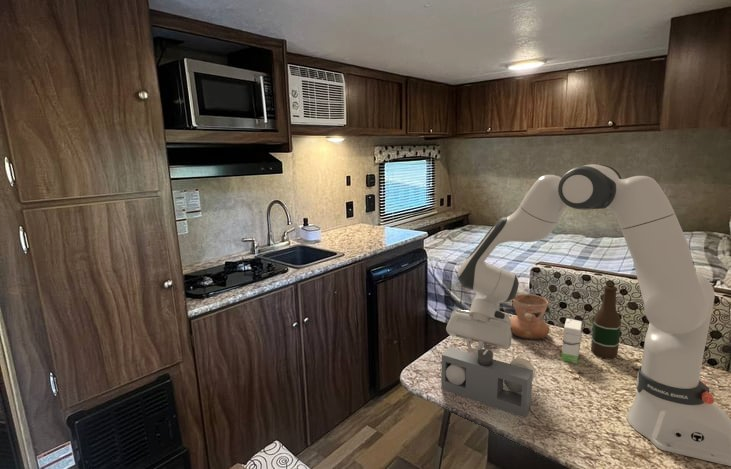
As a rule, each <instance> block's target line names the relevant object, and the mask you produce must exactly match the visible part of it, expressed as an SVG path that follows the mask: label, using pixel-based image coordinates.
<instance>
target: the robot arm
mask: <svg viewBox="0 0 731 469" xmlns="http://www.w3.org/2000/svg"><path fill="white" fill-rule="evenodd" d="M569 207H570V208H572V209H575V210H582V211H583V210H584V211H587V210H604V209H609V210H610V211H611V212H612V213H613V215H614V217H615V219H616V221H617V223H618V225H619V229H620V231H621V233H622V236H623V238H624V240H625V243H626V245H627V248H628V250H629V253H630V256H631V258H632V260H633V261H632V262H633V264H634V268H635V269H634V270H635V273H636V274H635V275H636V278H637V282H638V287H639V290H640V293H641V297H642V301H643V305H644V306H643V308H644V314H645V317H646V319H647V321H648V322H649V324H648V328H647V331H646V334H645V338H644V344H643V352H642V358H641V359H642V360H641V365H640V366H639V368H638V371H637V375H636V376H637V378H636V383H635V384H636V393H635V396H634V400H633V403H632V405H631V407H630V409H629V410H628V412H627V414H626V419H627V422H628V423H629V425H630V426H631V427H632V428H633V429H635V431H637V433H639V434H641V435H643V436H644V437H645V438H646V439H648V440H650V441H651V443H652V444H653V445H654V446H656V448H658V449H659V450H662V451H665V452H669V453H673V454H678V455H681V456H686V457H690V458H693V459H694V458H695V459H698V460H699V459H700V460H703V461H707V462H712V463H715V464H720V465H724V466H728V467H731V418H730V416H729V415H728V414H727V413H726V412H725V411H724V410H723V409H722V408H720V407H719V406H717V405H716V404H715V403H714V402H715V399H714V395H713V394H712V393H711V392H710V388H709V386H708V385H707V383H706V382H705V380H703V381H701V380H700V379H701V378H700V377H701V371H702V365H703V359H704V354H705V348H706V343H707V340H708V334H709V329H710V324H711V317H712V313H713V308H714V303H715V296H716V295H715V289H714V288H713V287H714V286H713V285H712V283H711V282H710V281H709V280H708V278H707V277H706V276H704V275H703V274H702V273H698V272H697V271H696V269H695V265H694V262H693V257H692V254H691V248H690V245H689V243H688V240H687V238H686V236H685V233H684V232H683V228H682V226H681V225H680V222H679V219H678V217H677V215H676V212H675V210H674V208H673V205H672V204H671V202H670V200H669V199H668V197H667V195H666V194H665V192H664V191H663V189H662V188H661V186H660V184H658V182H657V181H656V180H655V178H653V177H651V176H647V175H635V176H630V177H628V178H622V176H621V175H620V173H619V172H618V171H617V170H616V169H615V168H613V167H611V166H609V165H606V164H605V165H604V164H593V163H592V164H590V163H589V164H585V165H581V166H580V165H579V166H575V167H574V168H571V169H570V170H568V171H567V172H566V173H564V175H562V177H561V176H559V175H555V174H545V175H542V176H540V177H539V178H538V179H537V180H535V182H534V183H533V184H532V185H531V187H530V189H528V191H527V193H526V194H525V196H524V198H523V199H522V201H521V203H520V204H519V206H518V208H516V210H515V211H514V212H513V213H511V214H510V215H508V216H506V217H505V216H504V217H501V218H499V219H498V220H497V221H496V222H495V224H493V225H492V226H491V228H490V229H489V230H488V232H487V233H486V234H485V235H484V236H483V238H482V239H481V240H480V242H479V243H478V245H477V246H476V247H475V249H474V250H473V251H472V253H470V255H469V256H468V257H467V258H466V259H465V260H464V261H463V262H462V264H461V265H460V266H459V269H458V273H457V276H456V277H457V280H458V282H459V283H460V285H461V287H462V288H465V289H467V290H471V291H474V292H475V296H474V297H473V300H472V302H471V306H470V309H469V310H467V309H466V310H465V309H464V310H463V309H460V308H456V309H454V310H452V311H451V313H450V318H449V320H448V322H447V323H446V324H447V325H446V327H445V329H446V330H445V331H446V332H447V334H448V335H449V336H452V337H456V338H460V339H464V340H466V344H467V350H466V352H469V353H473V354H476V355H478V351H479V350H480V349H484V346H485V345H487V346H492V347H494V348H499V349H503V350H506V351H507V350H509V349H510V348H511V344H512V338H513V337H512V336H513V333H512V332H511V329H510V328H511V325H512V323H511V318H510V316H509V315H508V314H507V313H505V312H503V311H501V310H500V305H501V303H503V304H504V303H507V302H510V301H513V299H514V298H515V296H516V295H517V292H518V290H519V286H520V281H519V279H518V276H517V275H516V274H515V273H514V272H511V271H509V270H506V269H504V268H501V267H498V266H496V265H493V264H490V263H488V262H487V261H486V260H487V259H488V258H489V256H490V255H491V254H492V252H494V251H493V250H495V249H496V247H497V246H498V245H500V244H501V245H502V244H503V243H510V242H517V243H518V242H522V243H534V242H539V241H541V240H544V239H545V238H547V237H548V236H549V235H550V234H551V233H552V232H553V230H554V229H555V228H556V226H557V225H558V223H559V221H560V219H561V217H562V216H563V214H564V212H566V210H568V208H569ZM485 261H486V262H485ZM473 342H475V343H477V346H476V347H475V348H474V347H472V346H471V345H472V344H473Z"/></svg>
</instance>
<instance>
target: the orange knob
mask: <svg viewBox="0 0 731 469" xmlns="http://www.w3.org/2000/svg"><path fill="white" fill-rule="evenodd" d="M446 376H447V378H448V380H449V381H450V382H451V383H453V384H455V385H460V384H462V383H463V382H464V381H465V379H466V368H464V367H461V366H457V365H454V364H451V365H450V366H449V367H448V368H447V370H446Z"/></svg>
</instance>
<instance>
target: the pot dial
mask: <svg viewBox="0 0 731 469" xmlns="http://www.w3.org/2000/svg"><path fill="white" fill-rule="evenodd" d="M493 359H494V352H493V351H492V350H490V349H486V348H482V349H480V350H479V351H478V364H480V365H482V366H491V365H492V364H493Z"/></svg>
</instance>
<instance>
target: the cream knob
mask: <svg viewBox="0 0 731 469" xmlns="http://www.w3.org/2000/svg"><path fill="white" fill-rule="evenodd" d="M509 364H512V365H516V366H519V367H523V368H526V369H530V370H533V374H532V382H533V381H534V378H535V377H536V369H535V366H534V365H533V364H532V363H531V362H530V361H529V360H527V359H525V358H522V357H517V358H513V359H512V360H510V363H509ZM503 384H504V386H505V387H506V388H507V390H509V391H512V392H515V393H518V394H521V393H522V385H520V384H516V383H513V382H510V381H507V380H503Z"/></svg>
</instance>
